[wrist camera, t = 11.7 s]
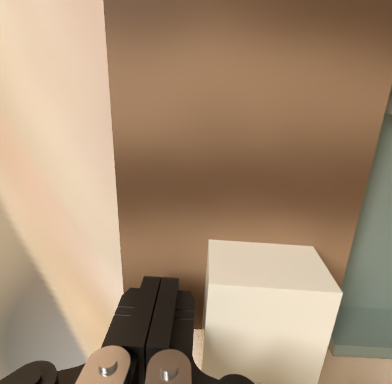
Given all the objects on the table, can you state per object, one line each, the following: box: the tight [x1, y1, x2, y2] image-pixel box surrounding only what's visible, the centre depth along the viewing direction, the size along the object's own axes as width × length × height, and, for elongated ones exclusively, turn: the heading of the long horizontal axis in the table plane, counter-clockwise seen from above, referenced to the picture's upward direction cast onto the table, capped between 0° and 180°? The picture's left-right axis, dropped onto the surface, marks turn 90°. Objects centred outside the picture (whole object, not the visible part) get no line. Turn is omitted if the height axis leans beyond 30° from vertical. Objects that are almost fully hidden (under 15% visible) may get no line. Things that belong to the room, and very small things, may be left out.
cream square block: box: [201, 239, 343, 384], centre depth 12 cm, size 4×4×3 cm
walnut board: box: [103, 0, 392, 329], centre depth 13 cm, size 16×10×3 cm, turn 178°
